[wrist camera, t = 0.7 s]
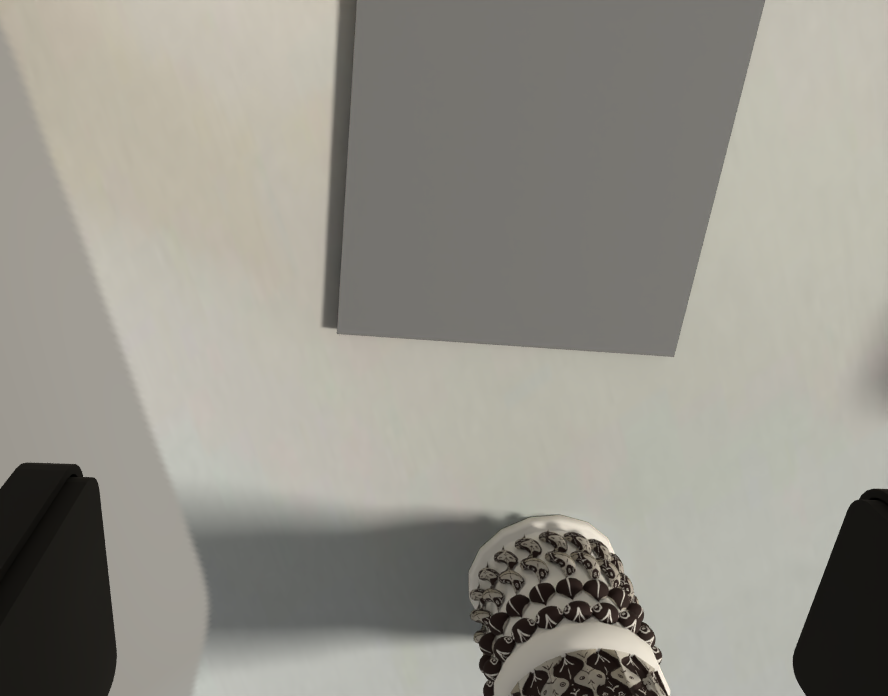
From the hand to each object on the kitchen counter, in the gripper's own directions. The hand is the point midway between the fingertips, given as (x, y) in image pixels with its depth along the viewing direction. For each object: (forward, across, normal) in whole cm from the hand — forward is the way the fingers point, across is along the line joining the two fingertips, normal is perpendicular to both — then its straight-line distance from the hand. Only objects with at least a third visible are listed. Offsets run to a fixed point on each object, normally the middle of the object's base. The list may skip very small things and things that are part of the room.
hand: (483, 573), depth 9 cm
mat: (+25, -6, -3) cm, 25 cm away
